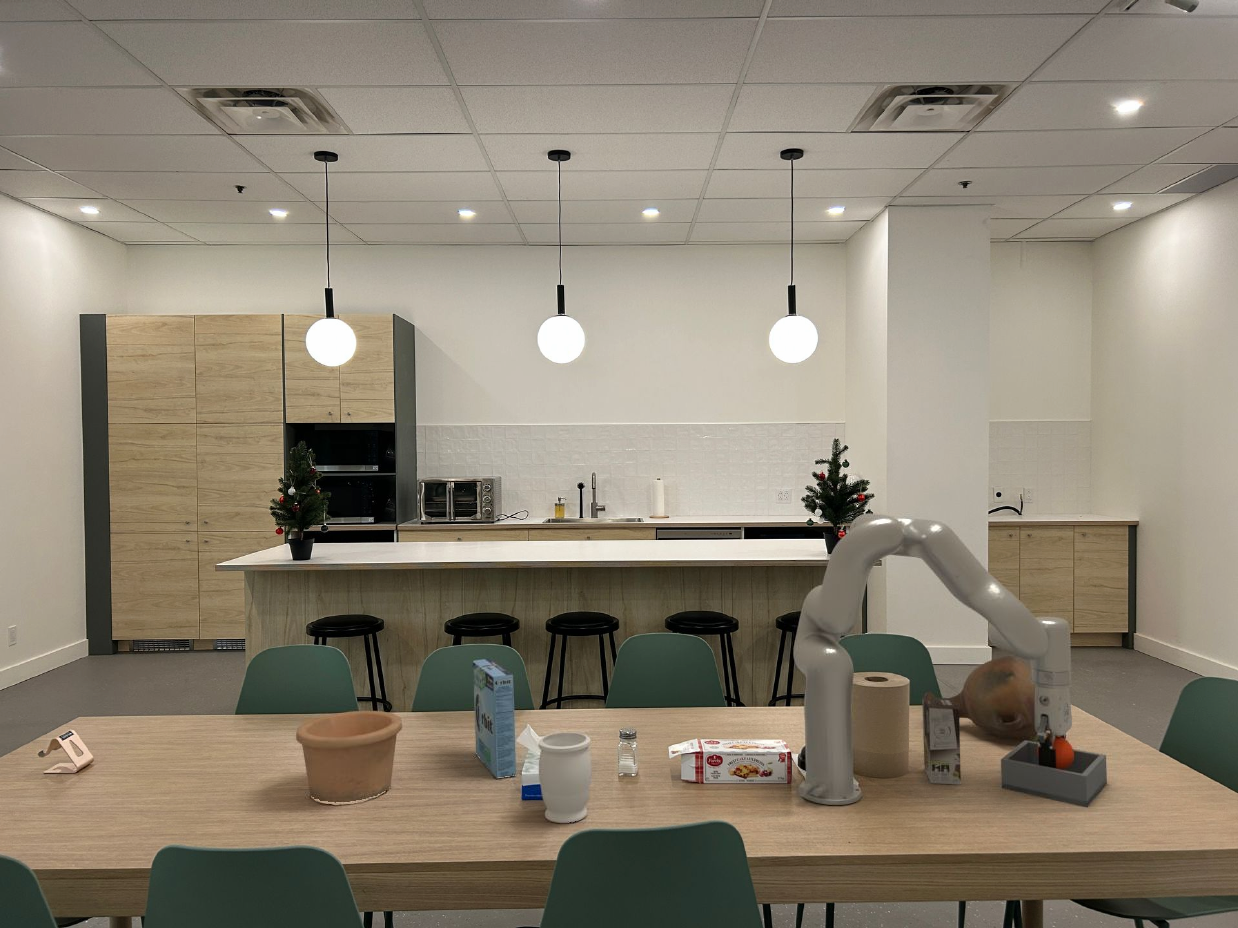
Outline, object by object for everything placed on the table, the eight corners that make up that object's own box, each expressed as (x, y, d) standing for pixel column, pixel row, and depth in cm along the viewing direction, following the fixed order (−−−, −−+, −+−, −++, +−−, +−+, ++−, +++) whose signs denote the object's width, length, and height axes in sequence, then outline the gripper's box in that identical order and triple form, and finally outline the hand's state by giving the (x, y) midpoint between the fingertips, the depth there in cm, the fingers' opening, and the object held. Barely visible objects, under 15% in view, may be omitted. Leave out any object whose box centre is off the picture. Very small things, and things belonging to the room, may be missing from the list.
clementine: (1033, 772, 175) (1032, 737, 175) (1029, 761, 182) (1029, 728, 182) (1076, 776, 172) (1076, 741, 172) (1071, 765, 179) (1071, 731, 179)
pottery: (278, 793, 183) (277, 726, 183) (370, 766, 199) (368, 704, 199) (328, 819, 168) (327, 747, 168) (423, 787, 184) (421, 721, 184)
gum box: (516, 776, 190) (514, 674, 190) (494, 780, 188) (492, 676, 188) (494, 751, 208) (492, 657, 208) (474, 754, 206) (472, 659, 206)
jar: (572, 830, 160) (570, 750, 161) (528, 819, 166) (527, 742, 166) (602, 810, 169) (601, 735, 170) (560, 801, 175) (559, 728, 175)
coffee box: (962, 785, 179) (960, 708, 179) (930, 783, 180) (928, 707, 180) (954, 770, 188) (952, 697, 188) (923, 768, 189) (921, 696, 189)
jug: (1068, 736, 209) (946, 737, 227) (1055, 655, 214) (936, 662, 232) (1049, 740, 194) (919, 741, 211) (1034, 653, 199) (909, 660, 217)
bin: (1087, 807, 166) (1086, 776, 166) (1001, 788, 177) (1000, 759, 177) (1106, 783, 178) (1106, 754, 178) (1025, 767, 188) (1024, 740, 188)
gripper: (1058, 688, 168) (1060, 778, 168) (1081, 671, 181) (1083, 755, 181) (1018, 682, 173) (1020, 769, 173) (1043, 667, 186) (1045, 748, 186)
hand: (1052, 761), depth 177 cm, fingers closed on clementine, 6 cm apart
